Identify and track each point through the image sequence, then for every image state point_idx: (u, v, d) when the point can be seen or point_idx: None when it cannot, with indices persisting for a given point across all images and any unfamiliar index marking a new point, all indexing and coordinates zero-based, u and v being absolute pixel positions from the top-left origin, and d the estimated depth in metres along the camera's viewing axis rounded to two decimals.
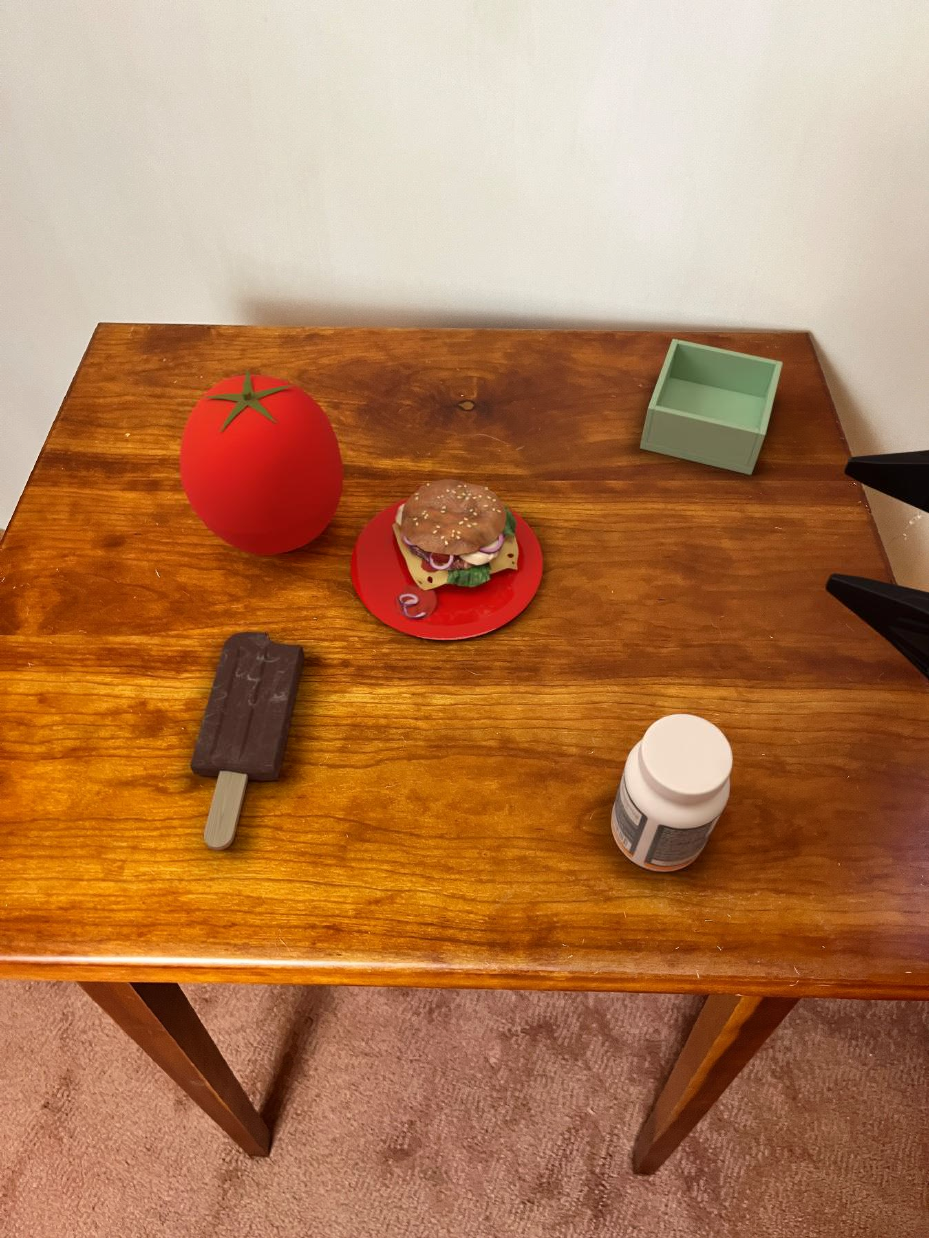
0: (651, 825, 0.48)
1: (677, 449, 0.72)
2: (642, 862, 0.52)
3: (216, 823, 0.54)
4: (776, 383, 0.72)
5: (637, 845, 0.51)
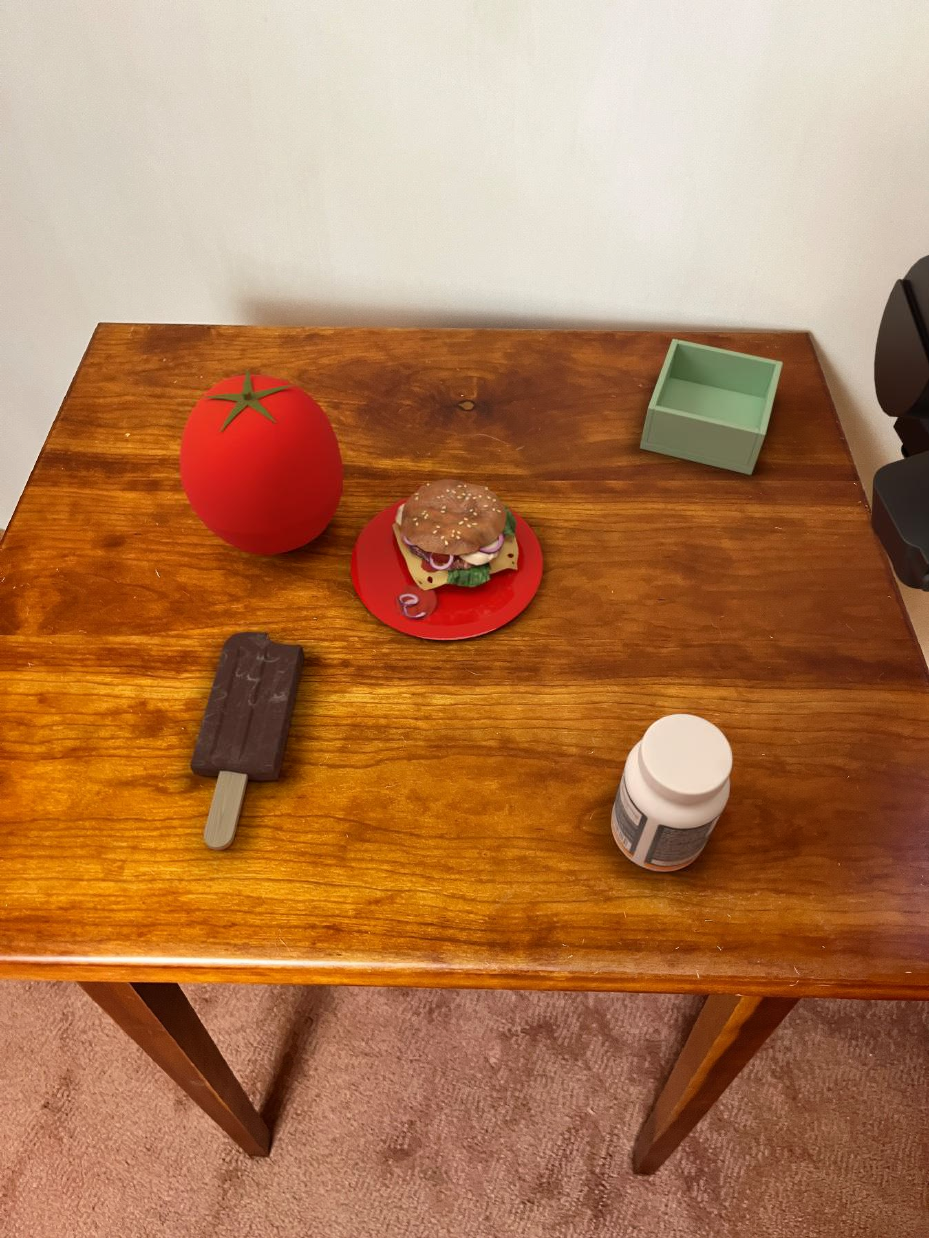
0: (651, 825, 0.48)
1: (677, 449, 0.72)
2: (642, 862, 0.52)
3: (216, 823, 0.54)
4: (776, 383, 0.72)
5: (637, 845, 0.51)
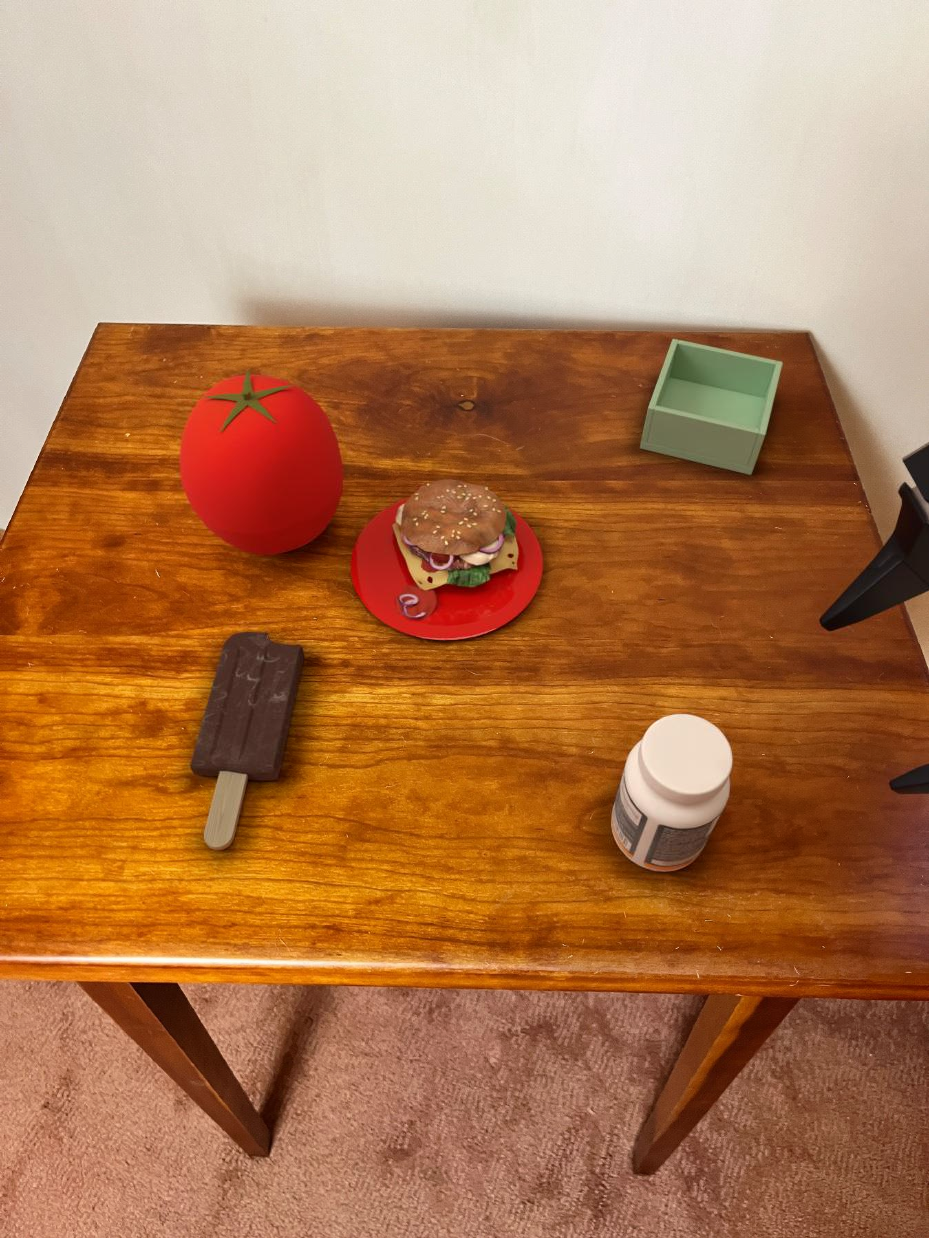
0: (651, 825, 0.48)
1: (677, 449, 0.72)
2: (642, 862, 0.52)
3: (216, 823, 0.54)
4: (776, 383, 0.72)
5: (637, 845, 0.51)
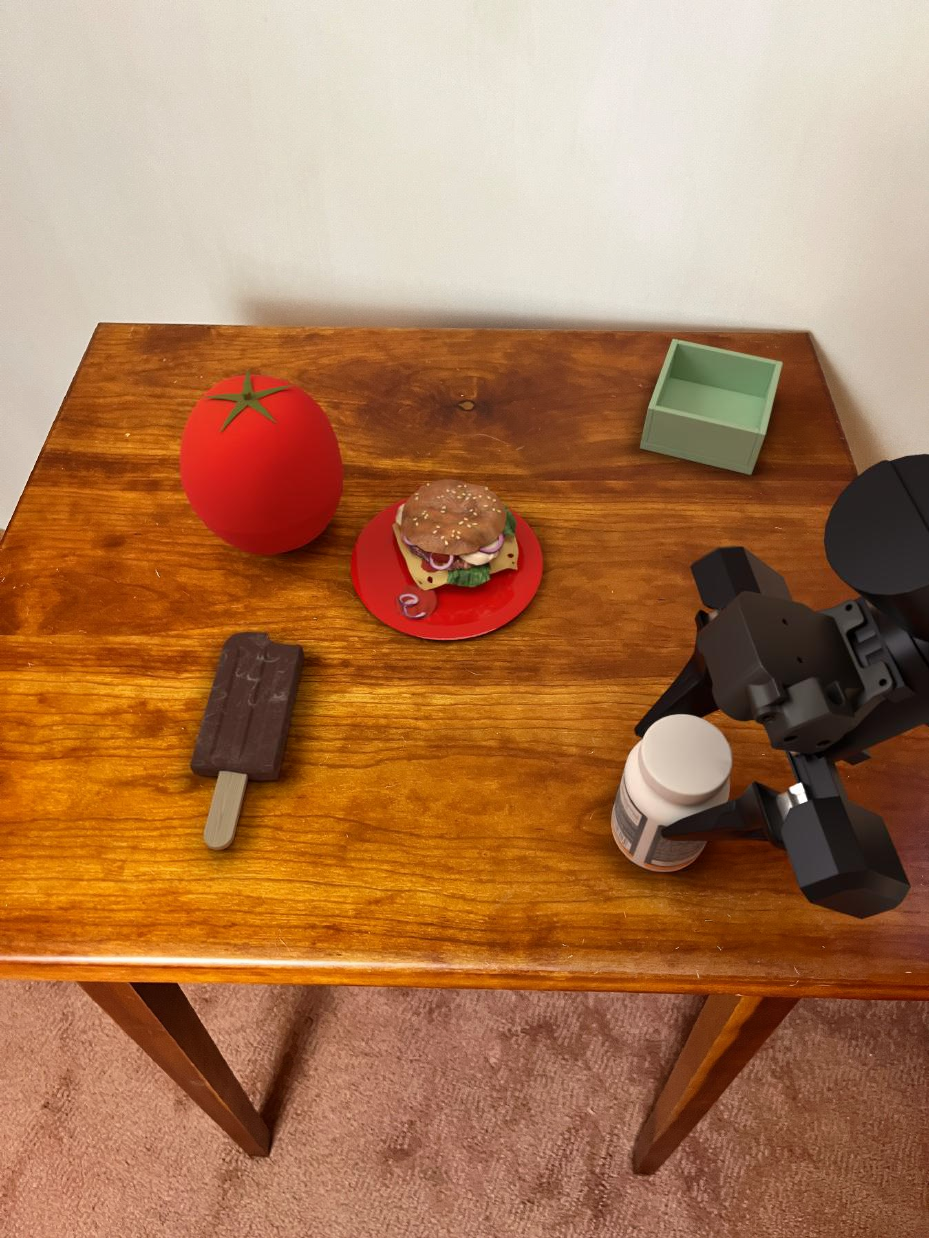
0: (651, 825, 0.48)
1: (677, 449, 0.72)
2: (642, 862, 0.52)
3: (216, 823, 0.54)
4: (776, 383, 0.72)
5: (637, 845, 0.51)
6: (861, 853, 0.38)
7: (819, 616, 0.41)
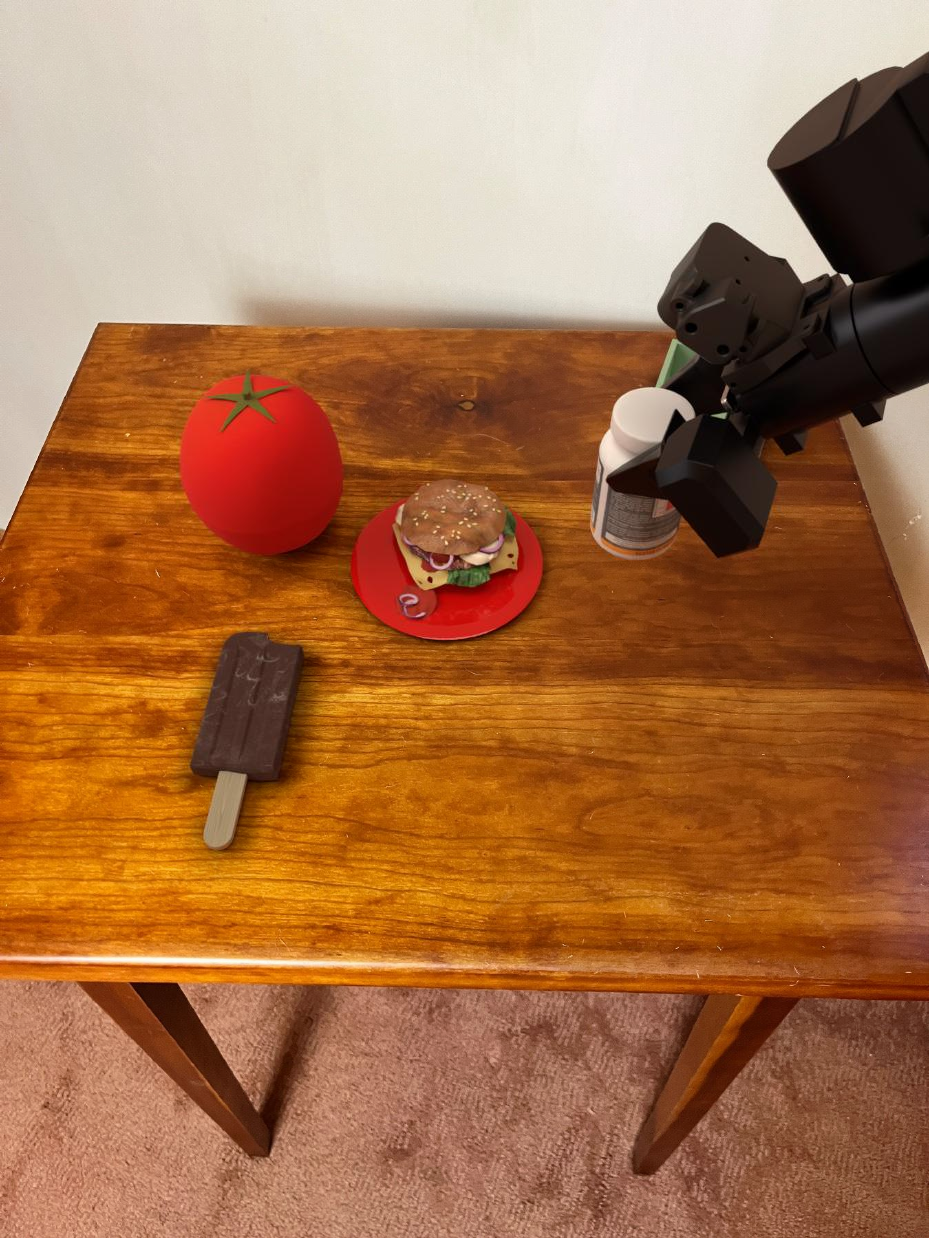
0: (605, 478, 0.54)
1: None
2: (600, 538, 0.58)
3: (216, 823, 0.54)
4: None
5: (597, 513, 0.57)
6: (716, 456, 0.42)
7: (789, 278, 0.44)
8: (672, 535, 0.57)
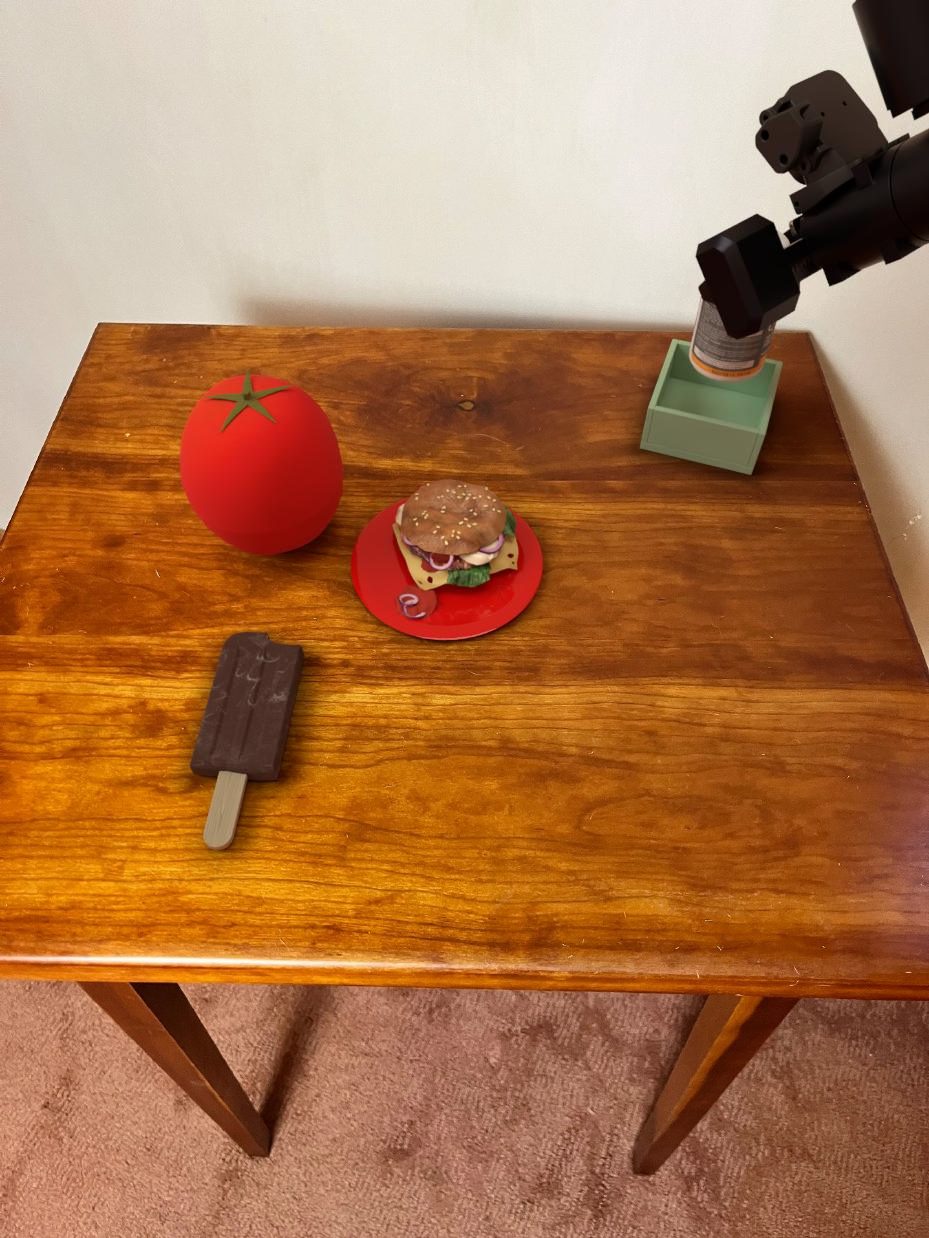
0: None
1: (677, 449, 0.72)
2: (691, 352, 0.69)
3: (216, 823, 0.54)
4: (776, 383, 0.72)
5: (694, 328, 0.68)
6: (743, 238, 0.53)
7: (877, 131, 0.53)
8: (748, 366, 0.67)
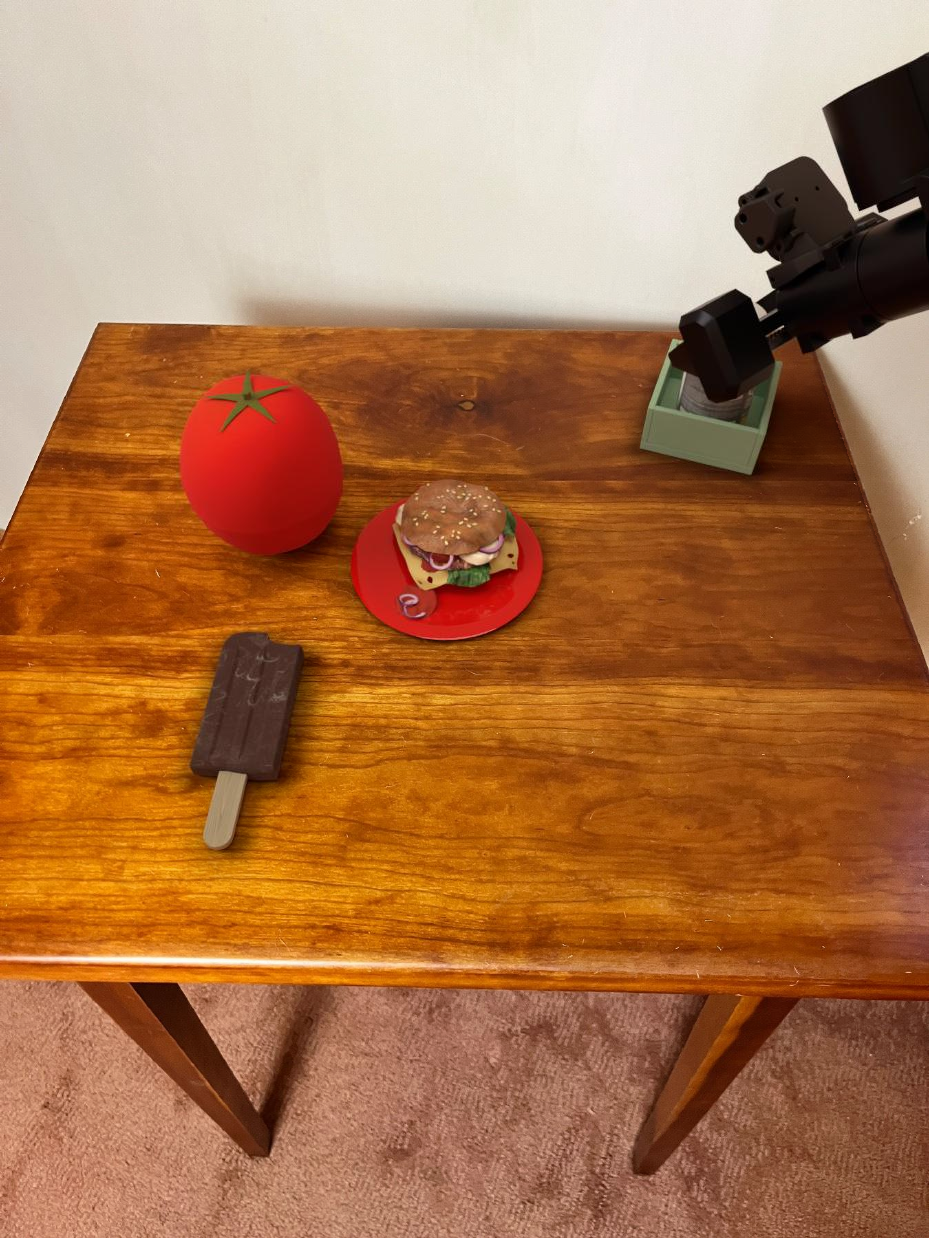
0: None
1: (677, 449, 0.72)
2: None
3: (216, 823, 0.54)
4: (776, 383, 0.72)
5: (680, 389, 0.73)
6: (722, 313, 0.57)
7: (847, 214, 0.58)
8: None
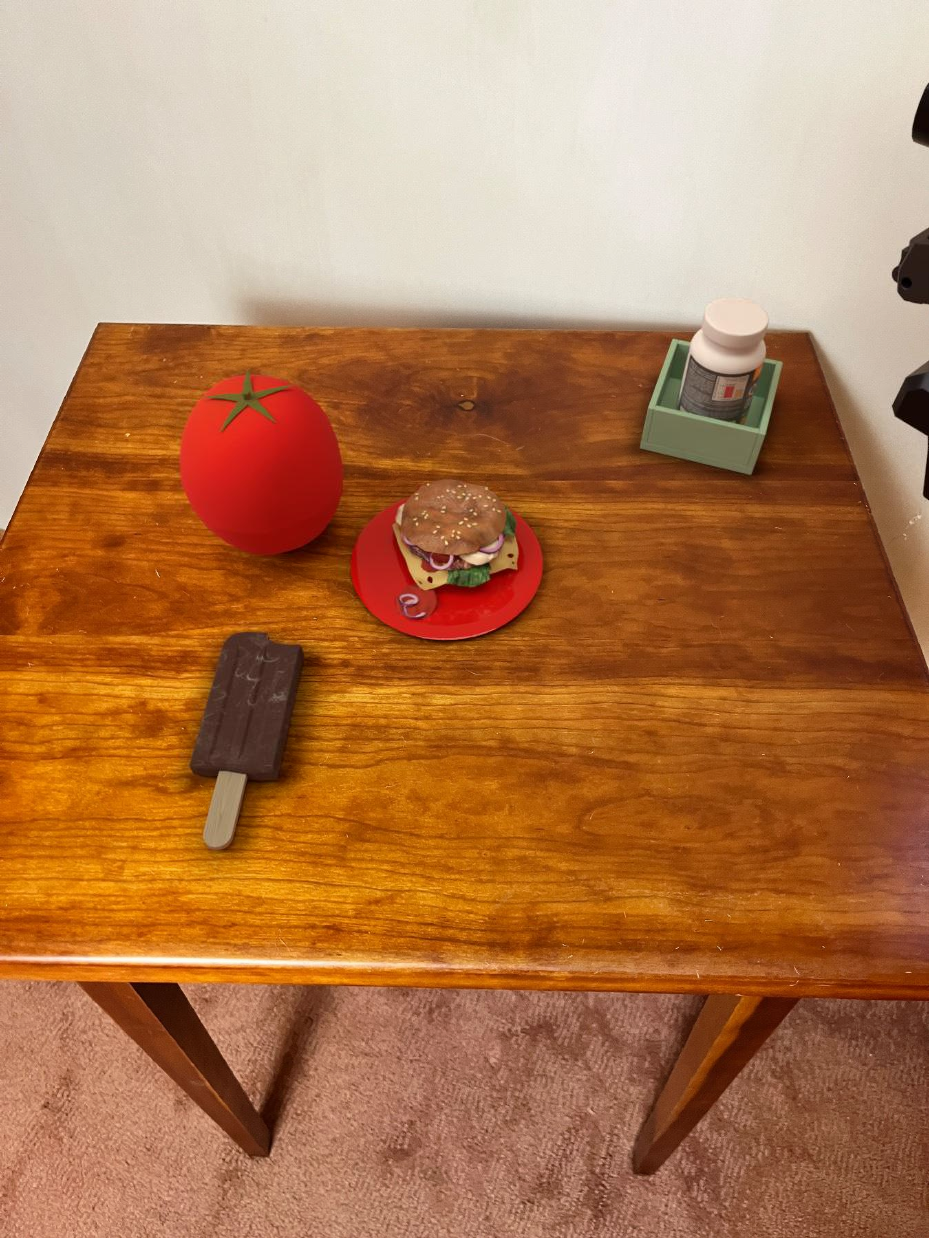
0: (688, 357, 0.70)
1: (677, 449, 0.72)
2: None
3: (215, 823, 0.54)
4: (776, 383, 0.72)
5: (680, 389, 0.73)
6: None
7: None
8: None
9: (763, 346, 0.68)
